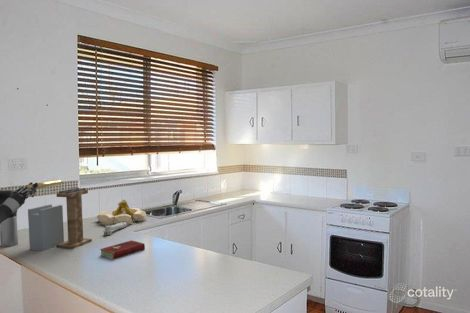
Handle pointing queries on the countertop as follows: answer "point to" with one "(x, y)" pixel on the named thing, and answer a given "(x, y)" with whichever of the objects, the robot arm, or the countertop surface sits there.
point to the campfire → (121, 215)
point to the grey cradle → (45, 227)
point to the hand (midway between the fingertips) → (34, 183)
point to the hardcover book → (122, 249)
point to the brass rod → (45, 184)
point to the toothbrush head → (117, 226)
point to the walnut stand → (74, 218)
